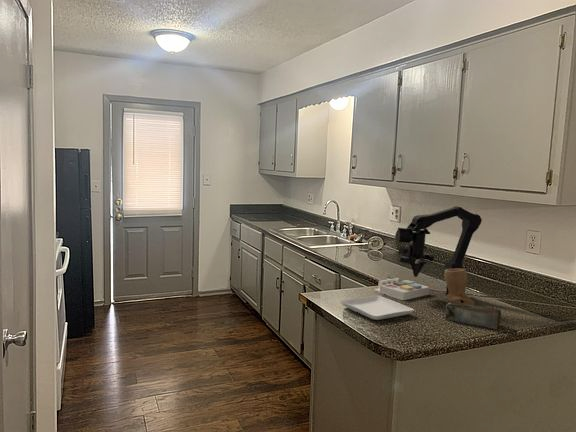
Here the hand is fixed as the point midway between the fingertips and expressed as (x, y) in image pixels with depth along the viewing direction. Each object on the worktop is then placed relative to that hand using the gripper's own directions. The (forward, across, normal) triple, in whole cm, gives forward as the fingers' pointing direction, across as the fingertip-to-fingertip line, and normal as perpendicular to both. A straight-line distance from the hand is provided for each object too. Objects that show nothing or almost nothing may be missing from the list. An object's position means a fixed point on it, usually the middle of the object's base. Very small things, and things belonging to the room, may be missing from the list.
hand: (415, 276), depth 211 cm
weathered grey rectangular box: (+9, +13, +36) cm, 39 cm away
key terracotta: (+7, +9, -6) cm, 13 cm away
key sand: (+6, +6, 0) cm, 8 cm away
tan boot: (+9, -7, +18) cm, 21 cm away
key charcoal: (+6, +3, -6) cm, 9 cm away
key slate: (+6, 0, 0) cm, 6 cm away
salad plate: (+9, +37, +8) cm, 39 cm away
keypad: (+8, +3, -5) cm, 10 cm away
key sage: (+6, -3, -6) cm, 9 cm away
